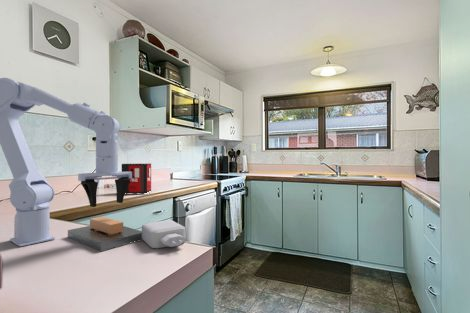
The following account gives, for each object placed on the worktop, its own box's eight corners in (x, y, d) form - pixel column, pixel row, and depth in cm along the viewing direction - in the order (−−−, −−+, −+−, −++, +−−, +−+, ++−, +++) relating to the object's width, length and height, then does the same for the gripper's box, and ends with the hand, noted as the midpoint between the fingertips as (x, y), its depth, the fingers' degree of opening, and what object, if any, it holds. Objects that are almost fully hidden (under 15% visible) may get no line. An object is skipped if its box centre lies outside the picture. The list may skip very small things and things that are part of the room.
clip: (90, 235, 75) (90, 218, 75) (102, 233, 78) (102, 216, 78) (110, 243, 68) (110, 224, 68) (123, 240, 71) (123, 222, 71)
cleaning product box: (151, 192, 177) (151, 163, 177) (146, 194, 168) (146, 163, 168) (127, 192, 177) (127, 163, 177) (121, 194, 168) (121, 163, 168)
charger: (159, 257, 59) (141, 241, 71) (196, 249, 64) (173, 235, 76) (159, 236, 59) (141, 223, 71) (196, 230, 64) (173, 219, 77)
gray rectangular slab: (67, 237, 74) (67, 230, 74) (108, 228, 84) (108, 221, 84) (101, 251, 62) (101, 243, 62) (144, 239, 72) (144, 232, 72)
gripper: (86, 157, 66) (86, 210, 66) (137, 157, 78) (137, 202, 77) (74, 157, 70) (74, 207, 70) (125, 157, 82) (125, 200, 82)
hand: (106, 204), depth 74 cm, fingers open, 7 cm apart
